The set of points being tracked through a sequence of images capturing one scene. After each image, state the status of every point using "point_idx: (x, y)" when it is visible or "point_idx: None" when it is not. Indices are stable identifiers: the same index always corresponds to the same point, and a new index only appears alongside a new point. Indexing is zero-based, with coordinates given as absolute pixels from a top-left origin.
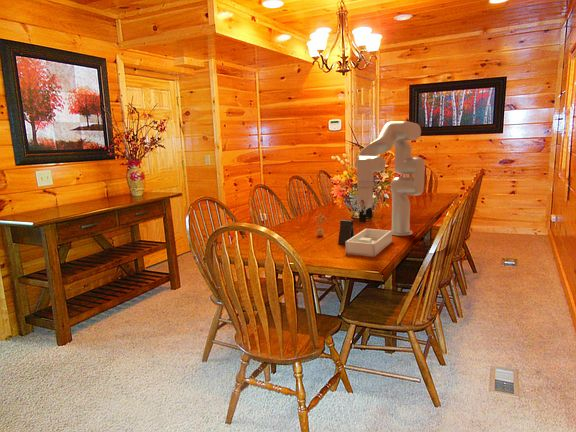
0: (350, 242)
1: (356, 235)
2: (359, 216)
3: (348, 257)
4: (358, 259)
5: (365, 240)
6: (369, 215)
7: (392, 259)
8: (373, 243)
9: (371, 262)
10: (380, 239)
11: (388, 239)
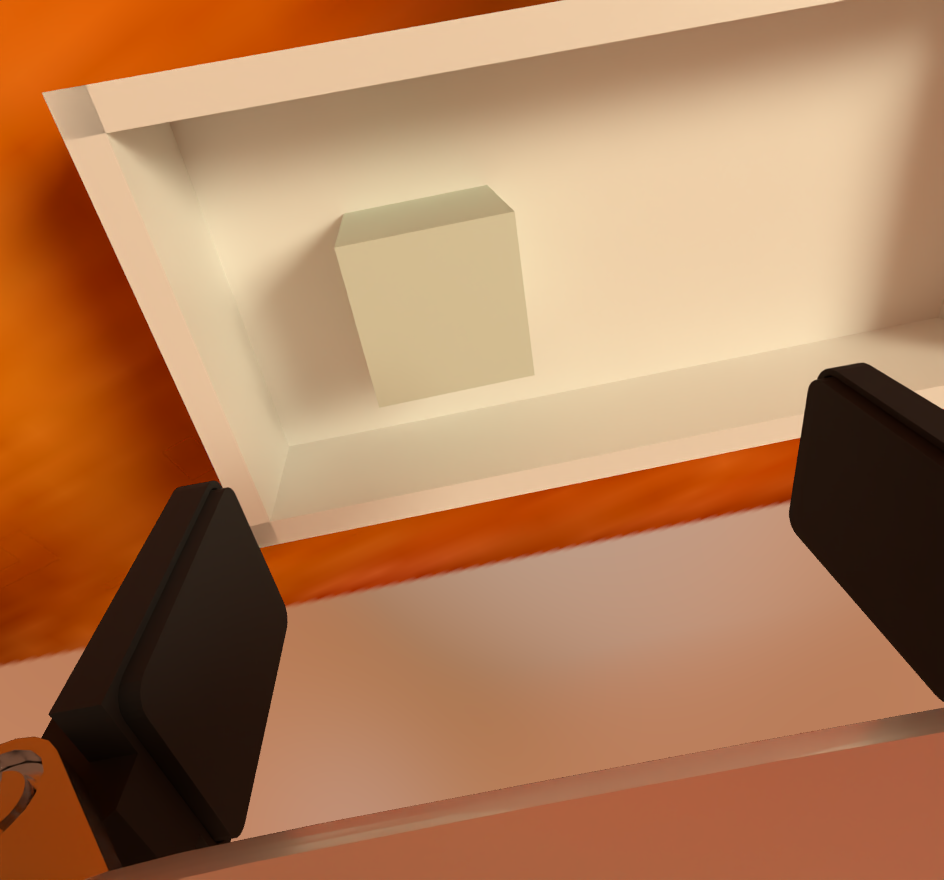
0: (98, 204)
1: (612, 27)
2: (114, 628)
3: (29, 229)
4: (69, 375)
5: (367, 360)
6: (840, 513)
7: (319, 598)
8: (280, 524)
9: (96, 521)
10: (523, 493)
11: None
